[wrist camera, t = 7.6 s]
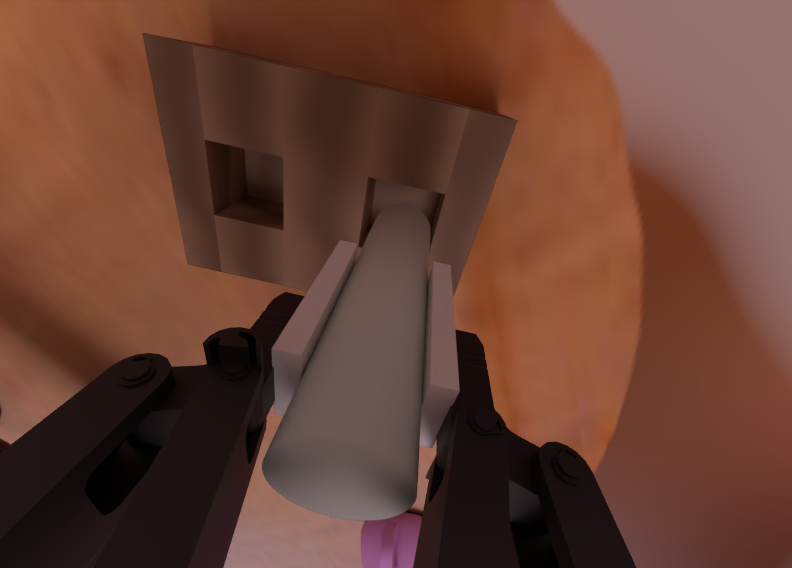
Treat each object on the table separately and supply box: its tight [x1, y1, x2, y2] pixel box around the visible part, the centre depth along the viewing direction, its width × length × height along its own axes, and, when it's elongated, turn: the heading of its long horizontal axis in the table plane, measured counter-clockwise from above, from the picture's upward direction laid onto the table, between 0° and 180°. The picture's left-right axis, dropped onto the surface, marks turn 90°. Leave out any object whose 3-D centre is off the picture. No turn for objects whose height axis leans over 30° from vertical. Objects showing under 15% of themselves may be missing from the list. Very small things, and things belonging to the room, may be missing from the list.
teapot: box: [361, 512, 422, 568], centre depth 53 cm, size 13×20×11 cm
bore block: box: [143, 33, 518, 296], centre depth 23 cm, size 20×14×6 cm
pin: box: [262, 204, 430, 521], centre depth 13 cm, size 3×3×14 cm
